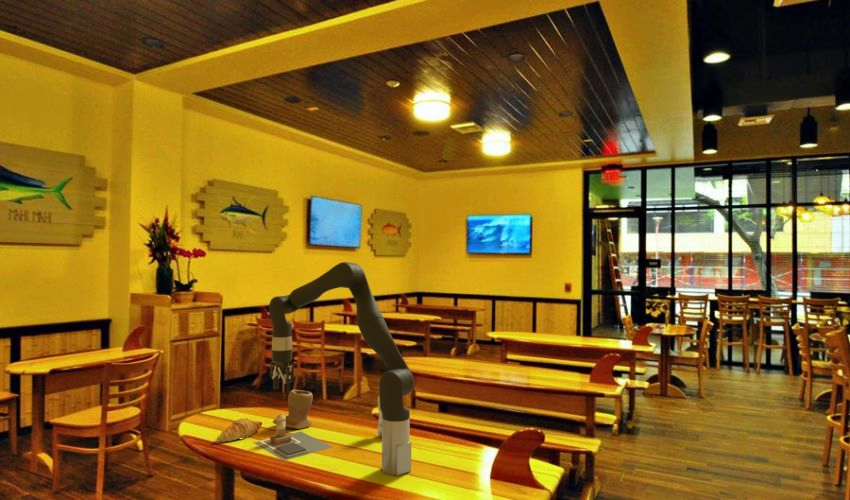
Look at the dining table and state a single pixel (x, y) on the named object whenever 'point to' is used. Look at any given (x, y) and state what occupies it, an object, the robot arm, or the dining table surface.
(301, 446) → the desk board
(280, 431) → the stamp
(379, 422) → the plastic bottle
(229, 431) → the croissant
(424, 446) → the dining table surface
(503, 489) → the dining table surface
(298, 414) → the tan boot
